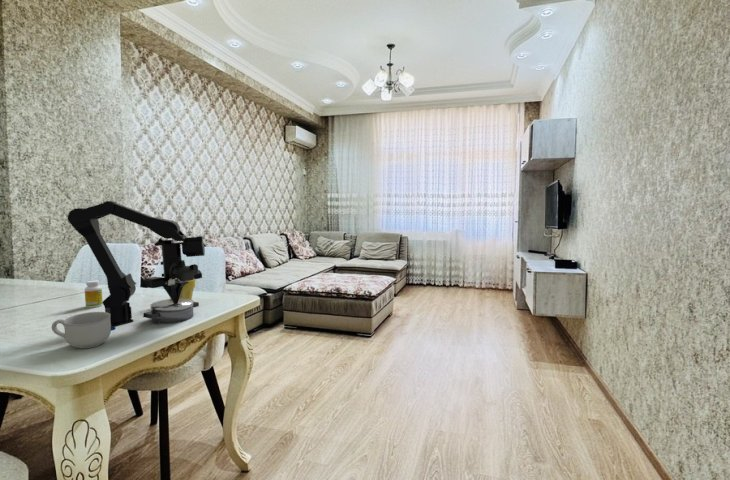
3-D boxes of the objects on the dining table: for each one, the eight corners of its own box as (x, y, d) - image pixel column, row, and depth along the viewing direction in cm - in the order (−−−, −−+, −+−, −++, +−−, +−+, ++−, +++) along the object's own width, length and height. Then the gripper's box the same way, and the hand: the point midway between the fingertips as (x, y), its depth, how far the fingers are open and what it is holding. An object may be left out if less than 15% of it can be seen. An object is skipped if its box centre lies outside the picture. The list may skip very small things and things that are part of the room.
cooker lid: (167, 313, 126) (166, 305, 125) (142, 308, 132) (141, 300, 132) (201, 304, 137) (201, 297, 137) (177, 299, 144) (176, 292, 143)
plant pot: (201, 301, 159) (200, 277, 158) (187, 307, 148) (186, 282, 147) (177, 300, 160) (175, 276, 159) (161, 307, 149) (160, 281, 148)
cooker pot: (160, 327, 124) (160, 315, 124) (135, 322, 130) (135, 310, 130) (207, 314, 140) (206, 302, 139) (183, 309, 146) (182, 298, 146)
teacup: (120, 338, 115) (118, 311, 114) (96, 351, 104) (94, 322, 104) (71, 338, 115) (69, 311, 114) (42, 352, 104) (40, 323, 103)
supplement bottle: (100, 307, 150) (99, 282, 149) (84, 308, 148) (82, 283, 147) (104, 303, 155) (102, 279, 154) (88, 305, 153) (86, 280, 152)
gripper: (161, 262, 121) (165, 312, 122) (211, 255, 137) (214, 299, 138) (139, 261, 126) (143, 309, 127) (190, 254, 142) (193, 296, 144)
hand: (175, 303), depth 134 cm, fingers closed, pressing on cooker lid
